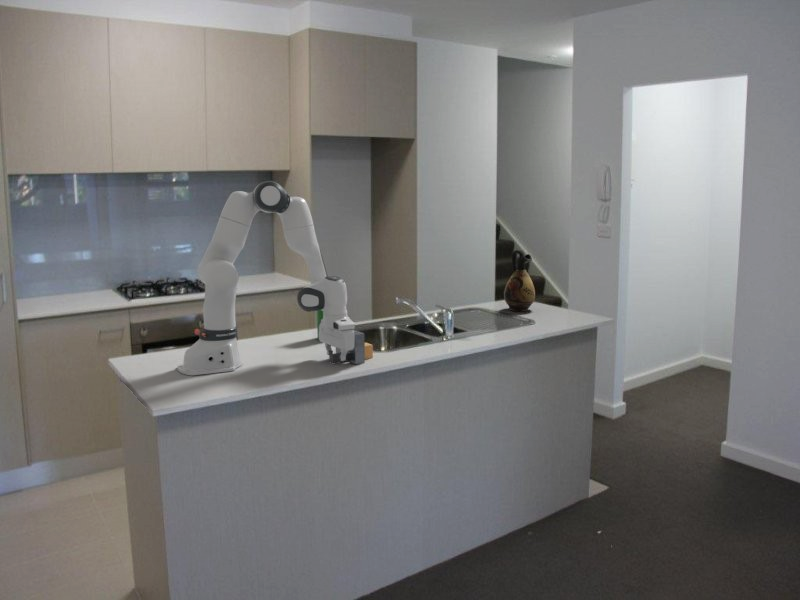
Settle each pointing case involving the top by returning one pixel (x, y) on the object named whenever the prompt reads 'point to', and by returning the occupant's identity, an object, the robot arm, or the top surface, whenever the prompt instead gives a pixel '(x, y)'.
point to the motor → (319, 320)
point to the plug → (335, 357)
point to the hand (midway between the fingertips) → (336, 357)
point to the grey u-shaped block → (357, 348)
